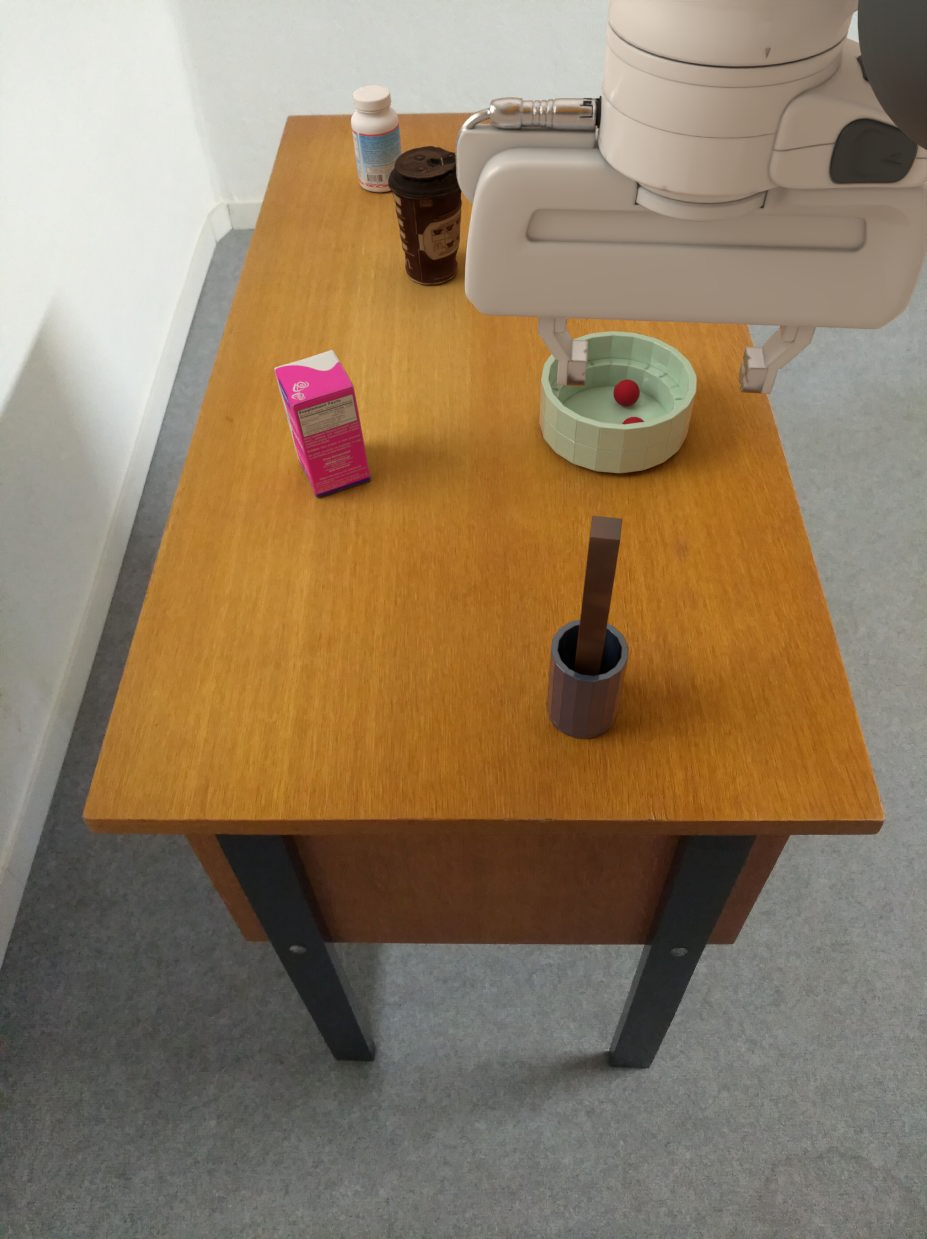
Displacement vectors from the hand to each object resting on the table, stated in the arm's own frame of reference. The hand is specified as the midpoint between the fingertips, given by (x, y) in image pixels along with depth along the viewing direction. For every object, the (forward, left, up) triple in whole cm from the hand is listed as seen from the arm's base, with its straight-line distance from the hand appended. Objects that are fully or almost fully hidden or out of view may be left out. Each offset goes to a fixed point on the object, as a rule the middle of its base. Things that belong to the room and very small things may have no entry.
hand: (661, 382), depth 47 cm
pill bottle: (+36, -76, -30) cm, 89 cm away
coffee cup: (+25, -56, -30) cm, 68 cm away
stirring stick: (+2, +2, -29) cm, 29 cm away
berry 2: (0, -28, -28) cm, 40 cm away
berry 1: (+1, -34, -28) cm, 44 cm away
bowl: (+2, -31, -30) cm, 43 cm away
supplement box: (+28, -21, -30) cm, 46 cm away
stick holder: (+2, +2, -30) cm, 30 cm away
